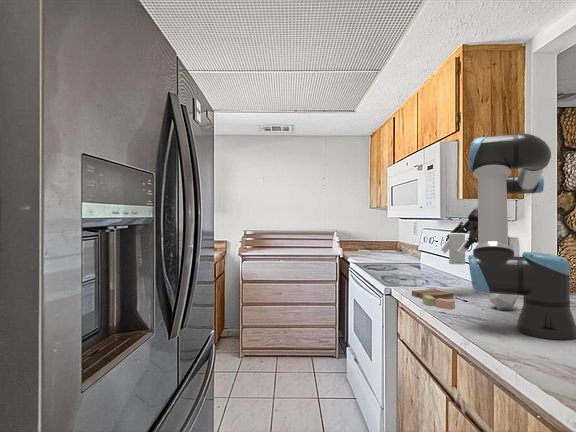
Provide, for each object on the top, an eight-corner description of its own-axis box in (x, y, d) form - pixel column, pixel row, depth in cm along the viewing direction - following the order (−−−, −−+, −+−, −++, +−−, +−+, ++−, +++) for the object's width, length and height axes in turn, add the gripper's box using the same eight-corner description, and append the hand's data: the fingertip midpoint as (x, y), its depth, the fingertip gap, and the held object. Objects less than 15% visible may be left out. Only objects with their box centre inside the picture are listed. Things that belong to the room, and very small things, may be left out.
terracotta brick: (454, 308, 152) (454, 300, 152) (450, 309, 150) (450, 301, 150) (439, 306, 156) (439, 298, 156) (435, 307, 154) (435, 299, 154)
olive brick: (435, 306, 156) (435, 298, 156) (428, 306, 156) (427, 298, 156) (430, 302, 162) (430, 295, 162) (422, 302, 162) (422, 295, 162)
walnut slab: (453, 298, 168) (453, 293, 168) (428, 300, 165) (428, 295, 165) (435, 293, 180) (435, 288, 180) (411, 295, 176) (411, 290, 176)
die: (516, 314, 144) (524, 291, 147) (493, 301, 145) (502, 279, 148) (504, 317, 151) (512, 294, 154) (482, 305, 153) (491, 283, 156)
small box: (465, 264, 170) (464, 233, 170) (449, 264, 173) (448, 233, 172) (465, 262, 178) (464, 232, 177) (449, 261, 180) (449, 232, 180)
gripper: (505, 221, 169) (475, 261, 164) (467, 220, 190) (439, 255, 186) (495, 208, 167) (464, 248, 163) (457, 209, 189) (429, 244, 184)
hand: (451, 252), depth 174 cm, fingers closed on small box, 10 cm apart
